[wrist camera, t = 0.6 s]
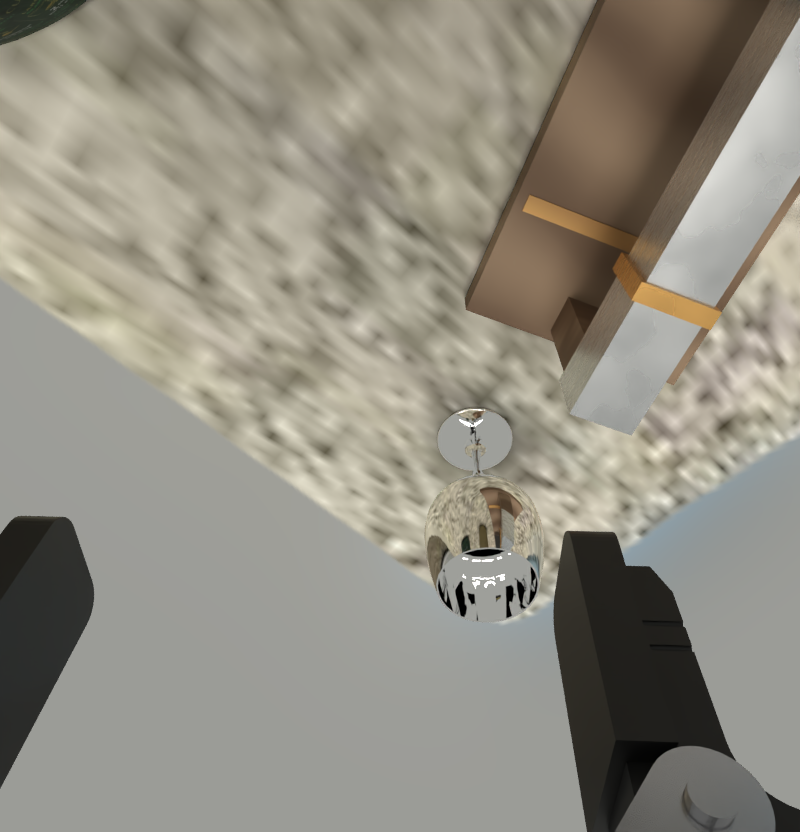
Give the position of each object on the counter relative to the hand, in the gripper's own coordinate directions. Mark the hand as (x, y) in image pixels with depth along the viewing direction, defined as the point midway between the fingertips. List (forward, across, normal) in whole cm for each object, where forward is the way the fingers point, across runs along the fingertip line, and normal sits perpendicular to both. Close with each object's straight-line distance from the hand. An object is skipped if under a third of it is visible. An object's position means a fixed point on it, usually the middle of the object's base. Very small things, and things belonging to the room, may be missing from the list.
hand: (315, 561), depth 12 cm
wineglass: (+27, -4, +16) cm, 31 cm away
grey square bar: (+21, -13, -2) cm, 25 cm away
